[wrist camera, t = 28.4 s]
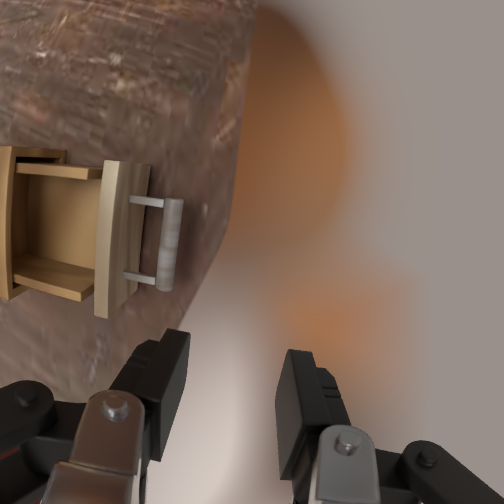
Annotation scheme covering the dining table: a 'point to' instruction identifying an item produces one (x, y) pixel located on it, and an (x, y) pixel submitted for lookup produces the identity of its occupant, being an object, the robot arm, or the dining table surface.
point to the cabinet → (3, 167)
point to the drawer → (88, 231)
